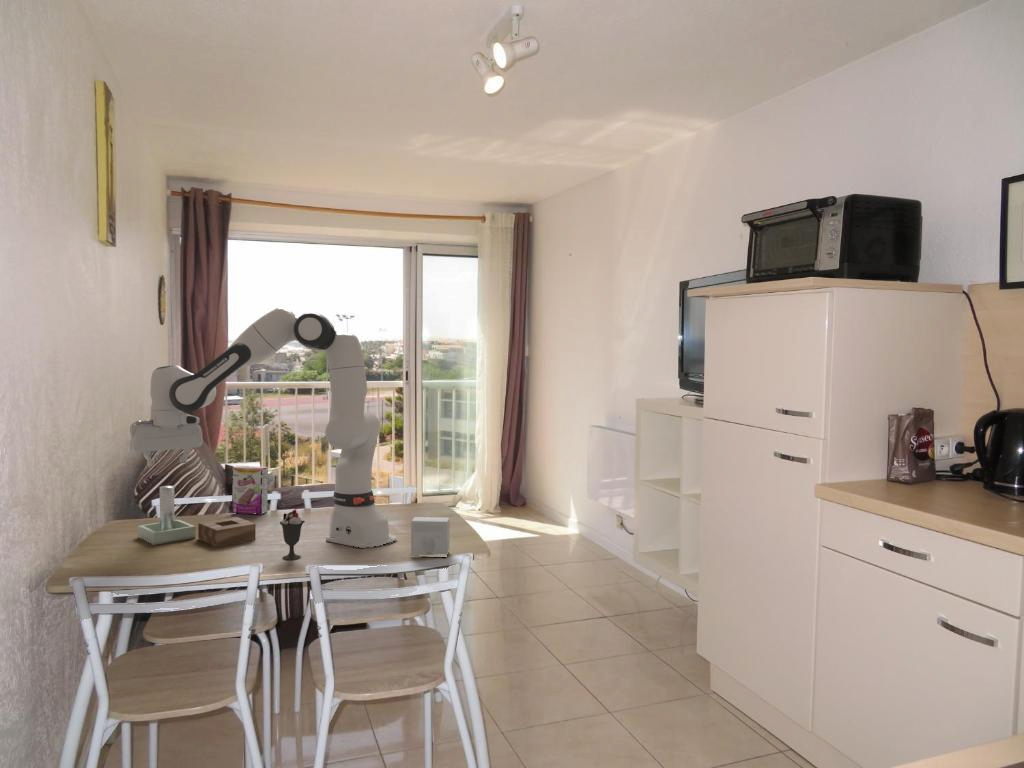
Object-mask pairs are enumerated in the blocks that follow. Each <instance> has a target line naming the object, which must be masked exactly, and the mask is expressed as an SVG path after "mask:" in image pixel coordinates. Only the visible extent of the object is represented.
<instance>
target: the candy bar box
mask: <svg viewBox="0 0 1024 768" xmlns="http://www.w3.org/2000/svg"><path fill="white" fill-rule="evenodd" d="M231 473H232V476H231V477H232V479H231V482H232V483H231V484H232V485H231V514H237V515H238V514H240V515H241V514H242V515H254V513H256V514H263V512H266V513H268V487H269V486H268V485H269V483H268V481H269V467H268V466H254V465H236V466H234V467H232V472H231ZM263 515H264V514H263Z"/></svg>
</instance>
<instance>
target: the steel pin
mask: <svg viewBox="0 0 1024 768" xmlns="http://www.w3.org/2000/svg"><path fill="white" fill-rule="evenodd" d="M174 520H175V485H162V486H159V522H160V531H165V530H171V529H174Z"/></svg>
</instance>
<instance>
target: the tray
mask: <svg viewBox="0 0 1024 768" xmlns="http://www.w3.org/2000/svg"><path fill="white" fill-rule="evenodd" d="M196 527H197V526H195V525H193V524H191V523H188V522H186V521H184V520H181V519H174V529H171V530H165V531H160V521H159V522H153V523H152V522H151V523H148V524H141V525H138V527H137V533H138V534H137V536H138V537H140V538H142V539H144V540H145V542H146V541H147V543H148V542H149V544H150V543H151V545H153V546H158V544H159V545H164V543H165V544H168V543H175V542H180V541H187V540H191V539H196ZM138 537H137V538H138ZM140 538H139V539H140ZM142 539H141V540H142ZM144 540H143V541H144Z"/></svg>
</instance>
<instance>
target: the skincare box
mask: <svg viewBox="0 0 1024 768" xmlns="http://www.w3.org/2000/svg"><path fill="white" fill-rule="evenodd" d="M450 520H451V519H450V517H437V516H436V517H428V516H426V517H425V516H424V517H423V516H414V517H413V519H411V521H410V525H411V527H410V533H411V534H410V557H411V556H419V555H434V554H436V555H437V554H447V553H448V550H449V551H450V531H451V530H450V525H451V524H450Z"/></svg>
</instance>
